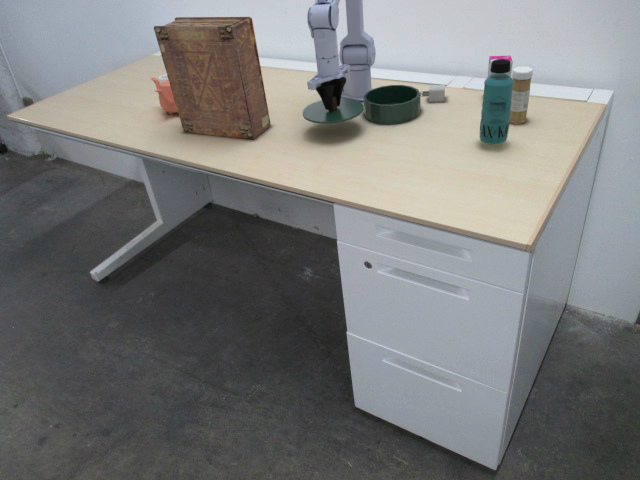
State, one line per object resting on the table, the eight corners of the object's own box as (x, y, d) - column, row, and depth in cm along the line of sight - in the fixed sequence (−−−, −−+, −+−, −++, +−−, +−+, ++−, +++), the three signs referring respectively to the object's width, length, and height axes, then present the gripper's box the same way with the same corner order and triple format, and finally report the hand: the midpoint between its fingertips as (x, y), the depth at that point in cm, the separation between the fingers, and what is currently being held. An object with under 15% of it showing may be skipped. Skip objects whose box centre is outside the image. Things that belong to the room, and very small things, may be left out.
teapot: (208, 111, 163) (200, 77, 157) (164, 122, 160) (153, 88, 154) (201, 97, 175) (192, 65, 168) (159, 107, 172) (149, 75, 165)
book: (183, 132, 152) (152, 26, 135) (201, 119, 159) (174, 17, 141) (254, 140, 141) (231, 26, 124) (271, 126, 148) (251, 16, 130)
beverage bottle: (474, 140, 126) (480, 58, 114) (501, 137, 126) (509, 54, 114) (484, 152, 120) (490, 67, 109) (512, 148, 120) (521, 63, 109)
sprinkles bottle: (517, 115, 135) (523, 64, 127) (530, 121, 131) (537, 68, 123) (503, 120, 133) (508, 68, 125) (516, 126, 130) (522, 73, 122)
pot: (399, 128, 137) (398, 109, 133) (354, 118, 146) (352, 99, 143) (430, 108, 145) (430, 89, 142) (386, 99, 154) (385, 81, 151)
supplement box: (508, 102, 142) (513, 61, 135) (486, 103, 143) (489, 62, 136) (506, 95, 146) (510, 54, 140) (485, 96, 148) (488, 55, 141)
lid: (336, 130, 128) (335, 113, 125) (290, 118, 137) (287, 102, 135) (376, 107, 137) (375, 91, 134) (330, 97, 146) (328, 82, 144)
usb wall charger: (444, 102, 147) (444, 88, 145) (419, 103, 149) (419, 89, 147) (444, 97, 151) (444, 83, 148) (420, 98, 152) (420, 84, 150)
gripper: (319, 66, 122) (325, 120, 130) (357, 48, 130) (361, 100, 138) (298, 63, 126) (305, 115, 134) (336, 46, 134) (341, 96, 142)
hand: (332, 107), depth 136 cm, fingers closed on lid, 2 cm apart
